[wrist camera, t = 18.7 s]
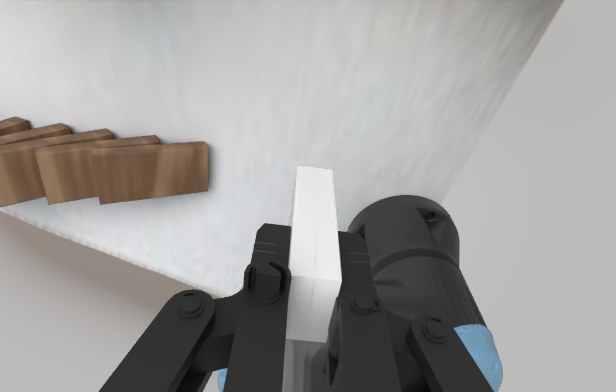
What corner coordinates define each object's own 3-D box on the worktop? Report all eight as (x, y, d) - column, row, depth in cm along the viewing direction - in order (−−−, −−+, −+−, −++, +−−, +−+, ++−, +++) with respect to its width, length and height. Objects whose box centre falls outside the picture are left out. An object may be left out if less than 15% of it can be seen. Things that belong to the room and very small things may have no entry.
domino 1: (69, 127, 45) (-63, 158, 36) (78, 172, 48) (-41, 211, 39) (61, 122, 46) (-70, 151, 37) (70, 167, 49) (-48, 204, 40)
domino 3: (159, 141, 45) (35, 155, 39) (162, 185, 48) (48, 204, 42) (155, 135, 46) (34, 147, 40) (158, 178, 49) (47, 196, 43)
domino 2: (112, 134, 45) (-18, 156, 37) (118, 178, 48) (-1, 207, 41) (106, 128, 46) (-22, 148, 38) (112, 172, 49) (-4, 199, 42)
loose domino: (204, 183, 50) (99, 195, 45) (204, 141, 47) (91, 149, 41) (207, 191, 49) (100, 204, 43) (208, 148, 45) (91, 156, 40)
